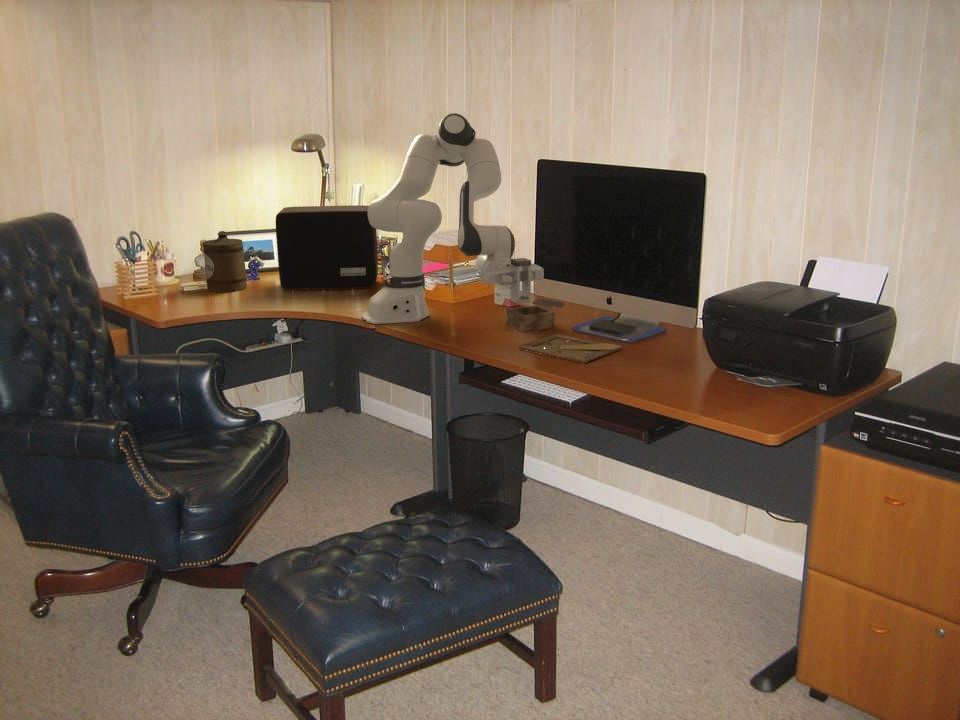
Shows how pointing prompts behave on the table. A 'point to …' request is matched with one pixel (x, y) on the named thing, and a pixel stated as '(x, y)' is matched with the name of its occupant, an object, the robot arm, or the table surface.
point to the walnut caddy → (530, 318)
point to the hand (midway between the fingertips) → (522, 279)
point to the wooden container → (224, 264)
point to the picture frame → (570, 348)
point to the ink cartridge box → (504, 295)
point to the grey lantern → (525, 280)
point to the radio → (326, 247)
